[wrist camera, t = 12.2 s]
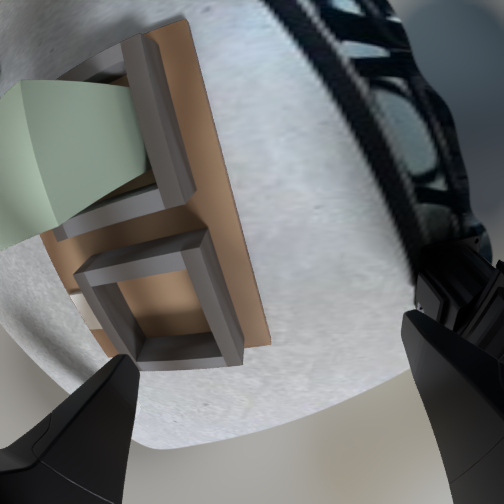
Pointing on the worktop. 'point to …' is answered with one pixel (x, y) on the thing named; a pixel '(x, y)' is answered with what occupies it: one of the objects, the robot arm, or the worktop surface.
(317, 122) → the worktop surface
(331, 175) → the worktop surface
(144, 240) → the socket board
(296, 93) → the worktop surface
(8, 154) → the sage peg
